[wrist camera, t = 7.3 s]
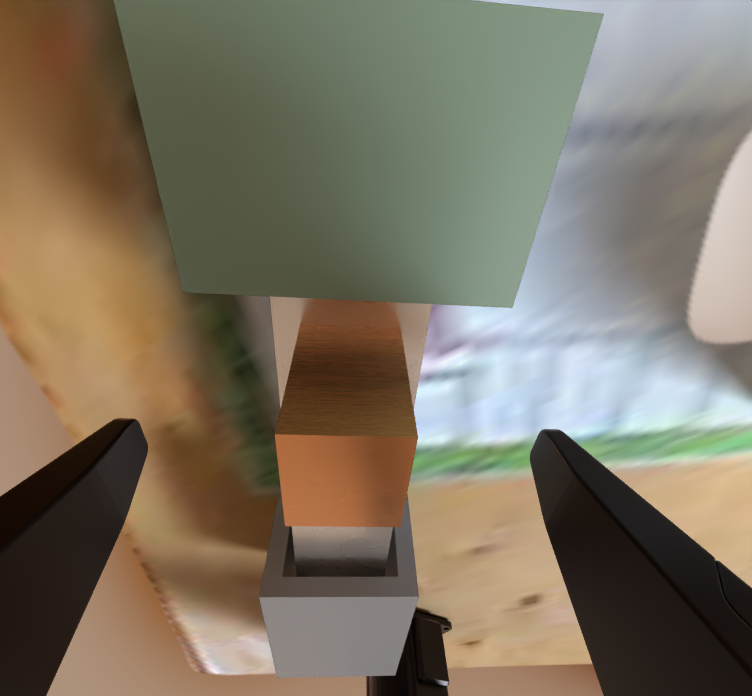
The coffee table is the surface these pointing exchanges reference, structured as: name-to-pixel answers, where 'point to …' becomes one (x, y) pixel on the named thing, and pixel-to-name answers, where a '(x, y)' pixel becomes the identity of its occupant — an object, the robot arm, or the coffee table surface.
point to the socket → (355, 141)
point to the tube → (346, 427)
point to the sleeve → (337, 610)
